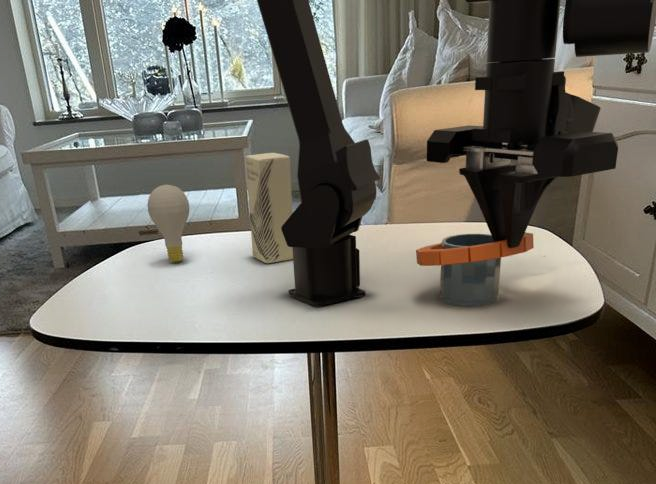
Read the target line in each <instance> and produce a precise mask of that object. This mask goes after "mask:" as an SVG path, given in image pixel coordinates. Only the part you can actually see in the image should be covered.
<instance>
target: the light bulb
mask: <svg viewBox="0 0 656 484" xmlns="http://www.w3.org/2000/svg"><path fill="white" fill-rule="evenodd" d="M146 207H147V213H148V215H149V217H150V219H151V221H152V222H153V224H154V225H155V226H156V228H157V229H158V230H159V232H160V233H161V235H162V237H163V239H164V244H165V248H166V252H167V258H168V260H169V261H171V262H173V263H175V264H178V263H179V262H180V261H181V260H182V261H183V259H184V258H185V256H184V252H183V251H184V250H183V240H182V238H183V232H184V230H185V229H184V228H185V227H186V223H187V222H188V218H189V215H190V202H189V200H188V197H187V195H186V194H185V192H184V191H183V190H182V189H181V188H180V187H178V186H176V185H172V184H162V185H160V186H157V187H156V188H154V189H153V190H152V191H151V193H150V194H149V196H148V199H147V206H146Z"/></svg>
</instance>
